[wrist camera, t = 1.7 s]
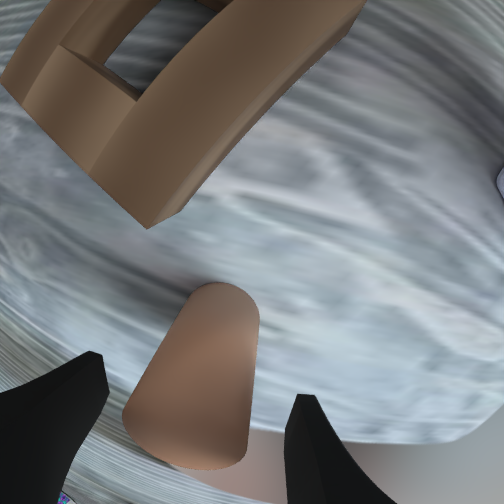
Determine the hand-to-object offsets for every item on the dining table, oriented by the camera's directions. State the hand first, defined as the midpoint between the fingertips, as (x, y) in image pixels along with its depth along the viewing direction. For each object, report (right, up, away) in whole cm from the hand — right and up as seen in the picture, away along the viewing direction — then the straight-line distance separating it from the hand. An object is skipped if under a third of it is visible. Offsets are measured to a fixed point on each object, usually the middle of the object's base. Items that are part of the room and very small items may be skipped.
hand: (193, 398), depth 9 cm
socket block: (-2, +15, +2) cm, 15 cm away
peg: (0, +2, +6) cm, 6 cm away
